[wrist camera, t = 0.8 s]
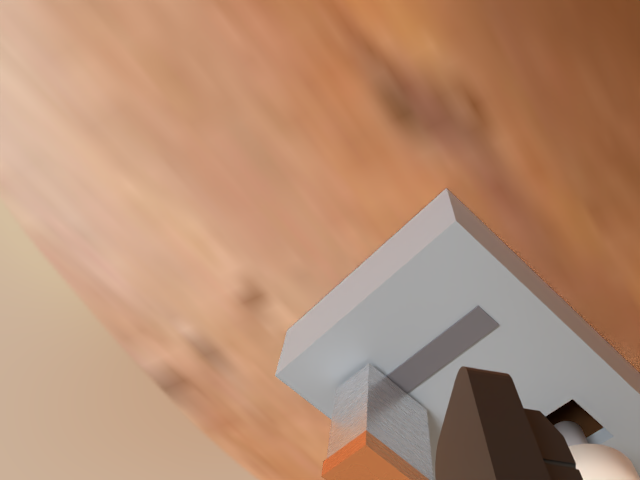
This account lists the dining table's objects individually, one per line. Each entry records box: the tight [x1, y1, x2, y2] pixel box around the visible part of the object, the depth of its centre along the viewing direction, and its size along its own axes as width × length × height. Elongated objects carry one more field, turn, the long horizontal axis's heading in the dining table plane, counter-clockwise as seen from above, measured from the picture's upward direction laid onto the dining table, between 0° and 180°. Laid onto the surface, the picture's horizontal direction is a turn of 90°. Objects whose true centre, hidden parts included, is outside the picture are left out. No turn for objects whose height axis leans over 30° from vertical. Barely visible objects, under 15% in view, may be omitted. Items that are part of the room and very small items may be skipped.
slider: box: [322, 363, 434, 480], centre depth 26 cm, size 3×4×5 cm, turn 47°
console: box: [275, 188, 640, 480], centre depth 31 cm, size 12×24×4 cm, turn 46°
